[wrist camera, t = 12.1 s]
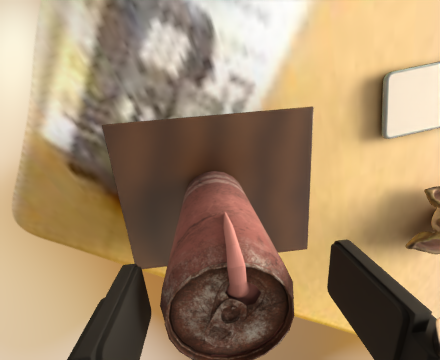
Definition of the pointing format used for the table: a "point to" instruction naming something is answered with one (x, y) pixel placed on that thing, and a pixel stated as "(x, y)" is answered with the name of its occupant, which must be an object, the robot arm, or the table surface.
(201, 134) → the side table
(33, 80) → the table surface
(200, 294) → the can
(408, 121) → the smartphone
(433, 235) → the ceramic sculpture
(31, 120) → the table surface
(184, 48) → the table surface
